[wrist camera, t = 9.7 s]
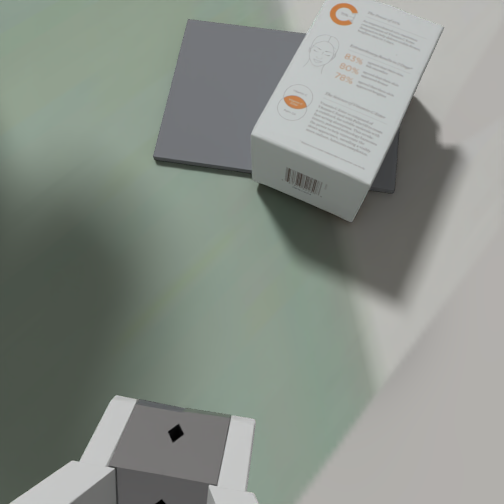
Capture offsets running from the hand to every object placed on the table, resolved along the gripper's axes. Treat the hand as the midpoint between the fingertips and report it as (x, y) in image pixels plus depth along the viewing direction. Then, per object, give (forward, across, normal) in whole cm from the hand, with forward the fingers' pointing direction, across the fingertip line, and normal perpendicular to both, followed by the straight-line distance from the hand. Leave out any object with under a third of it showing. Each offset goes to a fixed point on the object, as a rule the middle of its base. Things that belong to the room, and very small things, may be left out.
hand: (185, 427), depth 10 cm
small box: (+22, -2, +2) cm, 22 cm away
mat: (+31, 0, -1) cm, 31 cm away
